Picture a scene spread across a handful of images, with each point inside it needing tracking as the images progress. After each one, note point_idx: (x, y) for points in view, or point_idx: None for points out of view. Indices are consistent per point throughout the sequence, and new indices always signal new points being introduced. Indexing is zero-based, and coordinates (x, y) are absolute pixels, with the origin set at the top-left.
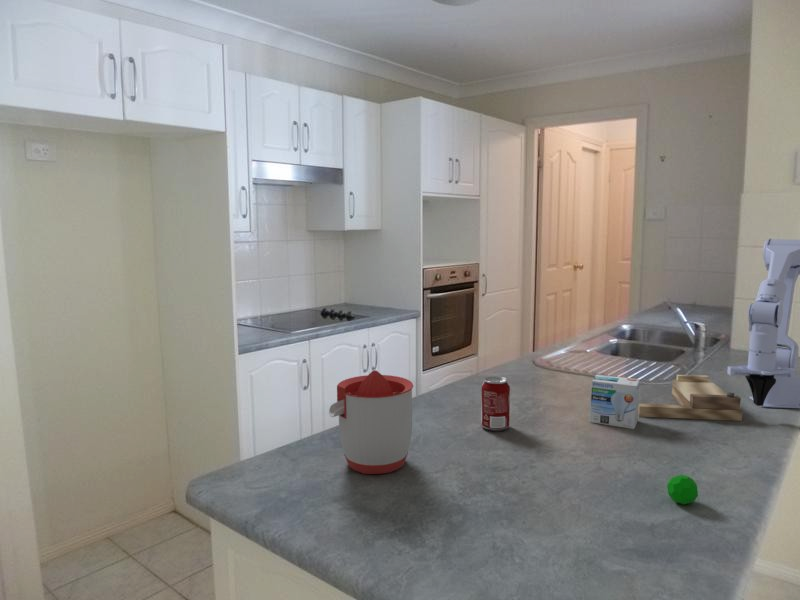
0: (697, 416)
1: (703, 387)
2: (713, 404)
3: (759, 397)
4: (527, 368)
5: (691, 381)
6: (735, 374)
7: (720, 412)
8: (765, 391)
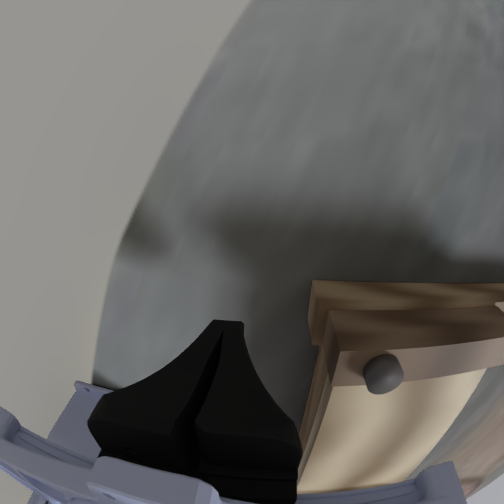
0: (467, 287)
1: (361, 464)
2: (447, 320)
3: (231, 346)
4: (500, 469)
5: (356, 489)
6: (402, 487)
7: (408, 298)
8: (189, 368)
